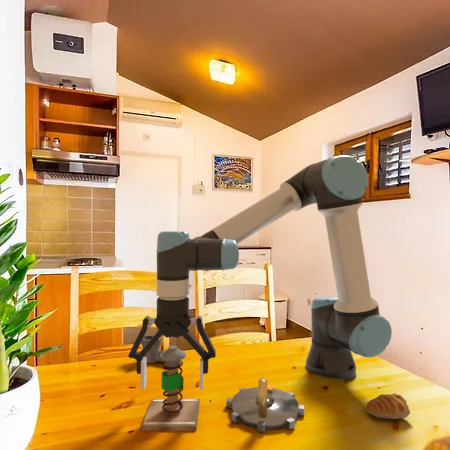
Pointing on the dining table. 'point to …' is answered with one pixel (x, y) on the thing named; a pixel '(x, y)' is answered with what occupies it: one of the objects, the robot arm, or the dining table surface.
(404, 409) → the pastry
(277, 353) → the dining table surface
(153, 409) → the pad
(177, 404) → the shock absorber
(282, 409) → the sprocket
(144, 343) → the pipe
